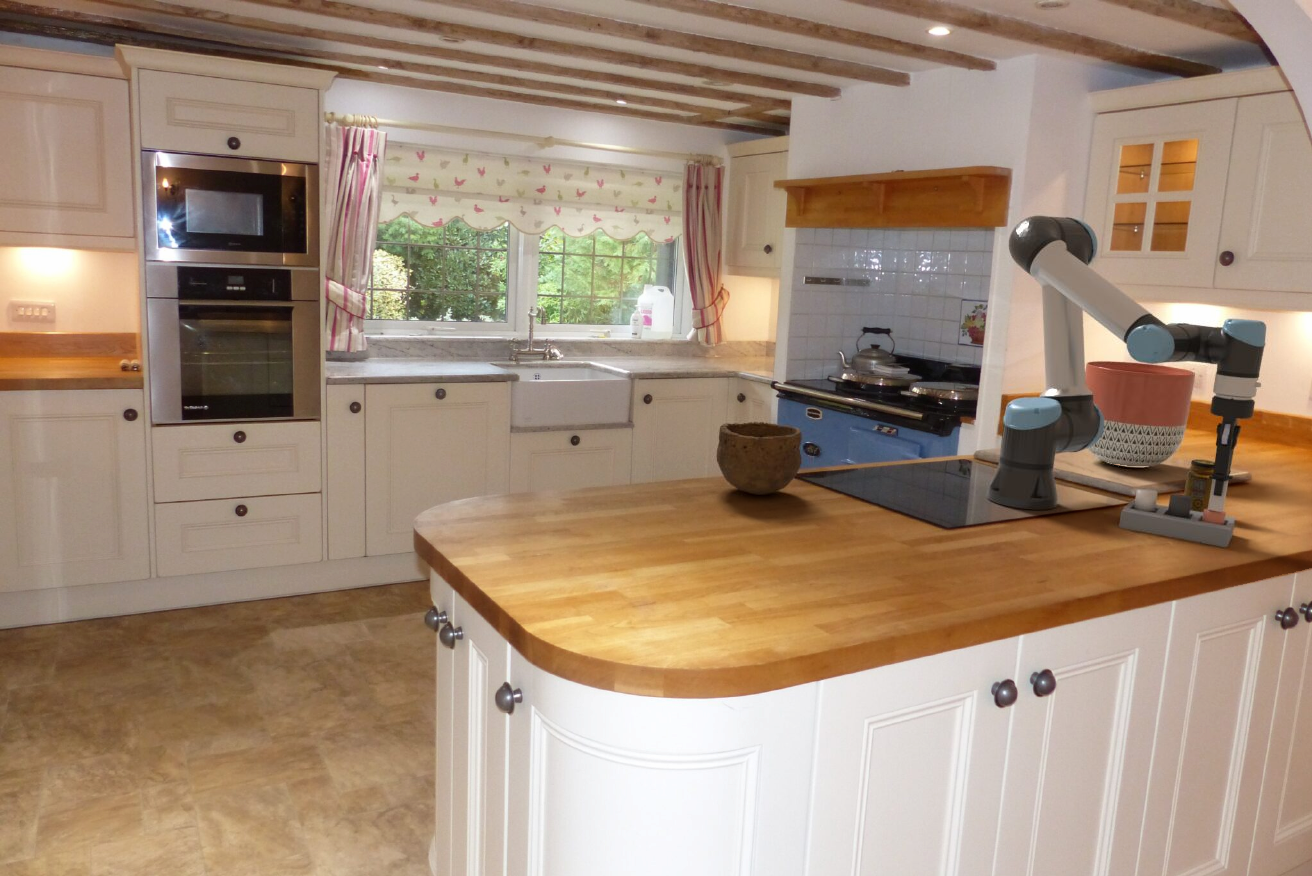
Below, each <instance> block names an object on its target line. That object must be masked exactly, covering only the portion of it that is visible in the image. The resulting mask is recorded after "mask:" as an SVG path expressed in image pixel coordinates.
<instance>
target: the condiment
mask: <svg viewBox="0 0 1312 876" xmlns="http://www.w3.org/2000/svg"><path fill="white" fill-rule="evenodd" d="M1190 463H1191V464H1190V467H1189V470H1188V472H1187V475H1186V480H1185V484H1184V485H1185V486H1184V491H1183V495H1186V496H1190V497H1192V501H1191V507H1190V510H1191V511H1197V512H1204V509H1208V505H1209V499H1210V492H1211V486H1212V480H1213V479H1209V476H1210V475H1212V474H1213V471H1214V464H1215V461H1211V460H1207V459H1192V460H1191V462H1190Z"/></svg>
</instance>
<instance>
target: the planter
mask: <svg viewBox="0 0 1312 876" xmlns="http://www.w3.org/2000/svg"><path fill="white" fill-rule="evenodd" d="M1195 378H1196V372H1194V371H1192V370H1188V369H1185V368H1180V367H1174V366H1166V365H1159V364H1148V363H1142V362H1128V361H1109V360H1101V361H1100V360H1097V361H1095V360H1094V361H1088V362H1086V363H1085V383H1086V387H1087V388H1088V389H1089V390H1090V391H1091V392H1093V402H1094V404H1095V405H1097V406H1098V409H1099V410H1101V412H1102V414H1103V417H1104V430H1103V433H1102V435H1101V437H1100V439H1099V440H1098V441H1097V442H1096V443H1095V444H1094V445H1093V446H1091V447H1090V448H1087V450H1088V451H1089V452H1090V453H1091V454H1092V455H1094V457H1096V458H1097V459H1098V460H1099V461H1101V460H1102V461H1101V462H1103V461H1105V462H1109V463H1112V464H1120V465H1127V466H1152V467H1155V466H1158V465H1159V464H1162V463H1164V462H1166V461H1167V460H1168V459H1170V458H1172V456H1174V455H1175V454H1176V452H1177V451H1178V449H1179V448H1180V446H1181V445H1182V441H1183V439H1184V436H1185V433H1186V428H1187V424H1188V420H1189V419H1188V418H1189V413H1190V406H1191V401H1192V395H1193V391H1194V387H1195V386H1194V384H1195ZM1105 462H1104V463H1105Z"/></svg>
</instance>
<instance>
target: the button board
mask: <svg viewBox="0 0 1312 876" xmlns="http://www.w3.org/2000/svg"><path fill="white" fill-rule="evenodd" d="M1134 505H1135V499H1134V500H1131V501H1129V502H1128V503H1127V504H1126V506H1124V508H1123V509H1122V510H1121V513H1120V517H1119V518H1120V520H1119V525H1118V526H1119V527H1118V528H1121V529H1125V530H1131V531H1138V532H1140V533H1141V532H1142V533H1149V534H1153V535H1159V536H1163V537H1168V538H1173V537H1174V539H1179V540H1185V541H1190V542H1195V543H1200V542H1201V543H1202V544H1207V545H1211V546H1216V547H1222V548H1228V546H1229V544H1230V541H1231V539H1232V537H1233V534H1234V528H1235V524H1236V523H1235V522H1236V517H1232V516H1227V515H1225V521H1224V525H1220V524H1214V523H1209V522H1203V521H1202V518H1203V512H1197V511H1191V510H1190V513H1189V517H1187V518H1182V517H1175V516H1171V515H1169V514H1168V508H1169V505H1168V506H1167V505H1161V504H1157V503H1156V506H1155V511H1152V512H1149V511H1141V510H1138V509H1135V508H1134Z"/></svg>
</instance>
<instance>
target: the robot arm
mask: <svg viewBox="0 0 1312 876" xmlns="http://www.w3.org/2000/svg"><path fill="white" fill-rule="evenodd" d="M1008 251H1009V253H1010V256H1011V258H1012V259H1013V261H1014V262H1015V263H1016V265H1018V267H1020V268H1021V269H1022V270H1023V271H1024V272H1026V273H1027V274H1029V275H1030V276H1031V277H1032V278H1034V280H1035V281H1036V282H1037V283H1038V284H1039V285H1040V286H1041V297H1042V322H1043V347H1044V348H1043V349H1044V351H1043V352H1044V369H1045V371H1044V372H1045V389H1044V390H1043V391H1042V392H1041V394H1039V397H1038V396H1033V397H1019V398H1016V399H1015V398H1014V399H1012V400H1011V401H1010V402H1008V404H1006V407H1005V412H1004V415H1003V417H1002V418H1003V419H1002V421H1003V424H1002V425H1003V426H1002V435H1001V441H1000V442H1001V444H1000V452H999V459H998V461H999V462H998V466H997V468H996V470H995V472H994V474H993V477H992V478H991V480H990V483H989V485H988V487H987V493H986V498H987V499H988V500H989V501H991V502H994V503H995V504H999V505H1002V506H1006V507H1009V508H1010V507H1011V508H1017V509H1023V510H1034V511H1036V510H1038V511H1039V510H1040V511H1041V510H1051V509H1055V508H1057V506H1058V499H1059V496H1058V495H1059V494H1058V489H1057V486H1056V480H1055V476H1054V466H1055V460H1056V459H1055V457H1056V455H1057V454H1065V453H1078V452H1080V451H1084V450H1088V448H1090V447H1091V446H1093V445H1094V444H1095V443H1096V442H1097V441H1098V440H1099V439H1100V437H1101V435H1102V433H1103V430H1104V417H1103V414H1102V412H1101V410H1099V409H1098V406H1097V405H1095V404H1094V402H1093V392H1091V391H1090V390H1089V389H1088V388H1087V387H1086V383H1085V370H1086V363H1085V357H1086V356H1085V337H1084V336H1085V333H1084V313H1086V314H1087V315H1089V316H1090V317H1091V318H1093V319H1094V320H1095V321H1097V322H1098V323H1099V324H1100V325H1102V326H1103V327H1104V328H1105V329H1107V330H1108V331H1109V332H1111V334H1113V335H1114V336H1116V338H1118V339H1119V340H1121V341H1122V342H1123V343H1124V344H1126V349H1127V352H1128V354H1129V356H1130V357H1131V359H1133V360H1134V361H1136V362H1137V363H1142V364H1152V365H1158V364H1162V363H1164V364H1165V363H1181V362H1182V363H1183V362H1184V363H1185V362H1192V363H1193V362H1194V363H1201V364H1203V363H1204V364H1211V365H1216V371H1215V375H1214V383H1213V390H1212V392H1213V393H1214V394H1215V395H1213V396H1212V398H1211V403H1210V404H1211V405H1210V410H1209V412H1210V413H1211V414H1212V415H1214V416H1217V417H1222V420H1221V421H1222V422H1221V423H1220V422H1218V424H1217V426H1216V431H1215V433H1216V439H1215V446H1216V451H1215V456H1214V457H1215V458H1214V462H1215V464H1214V471H1213V474H1212V475H1210V476H1209V479H1213V480H1212V486H1211V492H1210V499H1209V505H1208V510H1212V511H1218V512H1223V511H1224V509H1225V503H1226V496H1227V491H1228V486H1229V480H1231V481H1232V480H1233V476H1232V475H1230V474H1231V467H1232V463H1233V462H1232V461H1233V457H1234V451H1235V449H1236V448H1235V447H1237V444H1238V439H1239V438H1238V437H1239V434H1240V433H1241V428H1242V426H1241V425H1238V423H1239V422H1238V421H1239V419H1242V420H1247V419H1251V418H1253V415H1254V409H1255V405H1256V401H1255V399H1253V398H1254V397H1256V395H1257V389H1258V388H1261V387H1262V383H1261V382H1260V381H1259V377H1260V371H1261V366H1262V361H1263V356H1264V350H1265V347H1266V334H1267V325H1266V322H1264V321H1261V320H1256V319H1242V318H1227V319H1226V320H1224V322H1223V325H1222V326H1221V327H1220V326H1207V325H1200V324H1199V325H1198V324H1190V323H1185V322H1183V323H1182V322H1179V323H1177V322H1171V323H1168V324H1166V323H1165V322H1163V321H1162V320H1161V319H1159V318H1158V317H1156V316H1154V315H1153V313H1151V311H1148V310H1147V309H1146V308H1144V307H1143V306H1142V305H1140V304H1139V302H1136V301H1135V300H1134V299H1133V298H1131V297H1130V296H1128V295H1127V294H1126V293H1124V292H1123V291H1122V290H1120V289H1119V288H1118V287H1116V285H1114V284H1112V283H1111V282H1110V281H1108V279H1106V278H1104V277H1103V276H1102V275H1101V274H1099V273H1098V272H1097V271H1095V270H1094V269H1093V268H1091V267H1089V265H1090V264H1091V263H1092V262H1093V259H1094V258H1095V257H1096V255H1097V251H1098V238H1097V236H1096V232H1095V231H1094V230H1093V228H1092V227H1091V226H1090V225H1089V224H1088V223H1086V222H1085V221H1083V220H1080V219H1076V218H1073V217H1070V216H1069V217H1068V216H1067V217H1062V216H1061V217H1060V216H1048V215H1047V216H1046V215H1033V216H1028V217H1027V218H1024V219H1023V220H1020V221H1019V222H1018V224H1016V226H1015V227H1014V228H1013V229H1012V231H1011V233H1010V235H1009V239H1008ZM1258 381H1259V382H1258Z"/></svg>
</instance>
